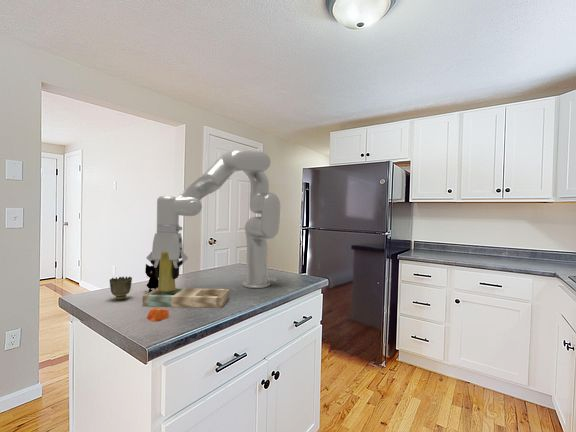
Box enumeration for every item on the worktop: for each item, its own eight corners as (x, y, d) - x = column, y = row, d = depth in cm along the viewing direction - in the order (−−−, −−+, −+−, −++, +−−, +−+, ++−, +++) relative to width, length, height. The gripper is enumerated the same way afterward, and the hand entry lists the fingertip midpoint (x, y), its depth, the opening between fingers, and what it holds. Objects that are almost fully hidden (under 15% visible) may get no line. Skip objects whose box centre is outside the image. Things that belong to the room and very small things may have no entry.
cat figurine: (146, 295, 116) (147, 265, 116) (141, 291, 121) (141, 262, 121) (164, 292, 121) (165, 263, 121) (159, 288, 126) (159, 261, 126)
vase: (173, 291, 106) (174, 252, 106) (155, 292, 105) (156, 252, 105) (177, 287, 112) (177, 250, 112) (160, 287, 111) (160, 250, 111)
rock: (160, 311, 100) (161, 298, 100) (186, 317, 95) (186, 304, 95) (127, 322, 90) (127, 308, 90) (153, 330, 84) (154, 315, 84)
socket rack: (229, 297, 114) (229, 289, 114) (221, 307, 102) (221, 297, 102) (158, 296, 115) (158, 287, 115) (142, 305, 103) (142, 296, 103)
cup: (111, 297, 112) (111, 276, 112) (132, 295, 115) (132, 275, 115) (107, 303, 105) (107, 281, 105) (130, 301, 108) (131, 279, 108)
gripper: (194, 229, 112) (193, 276, 112) (149, 228, 113) (149, 275, 113) (186, 230, 105) (186, 281, 105) (139, 229, 105) (138, 279, 105)
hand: (167, 277), depth 109 cm, fingers closed on vase, 5 cm apart
